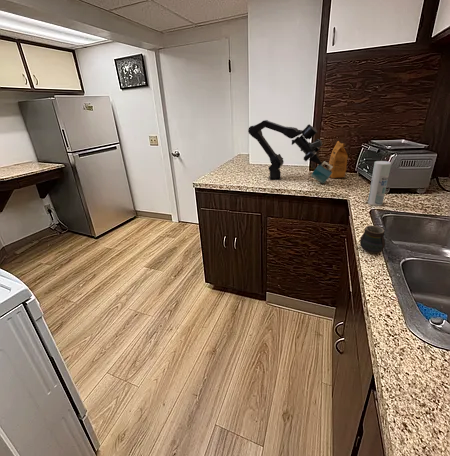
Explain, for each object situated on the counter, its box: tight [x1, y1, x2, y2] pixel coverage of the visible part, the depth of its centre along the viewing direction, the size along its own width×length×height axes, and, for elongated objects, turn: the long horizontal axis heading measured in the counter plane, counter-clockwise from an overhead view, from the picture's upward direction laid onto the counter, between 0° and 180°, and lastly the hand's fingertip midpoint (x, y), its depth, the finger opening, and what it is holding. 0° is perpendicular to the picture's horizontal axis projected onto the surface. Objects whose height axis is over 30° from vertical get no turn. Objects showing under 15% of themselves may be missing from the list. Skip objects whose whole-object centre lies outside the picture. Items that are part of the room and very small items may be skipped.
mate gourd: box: [359, 224, 386, 254], centre depth 82 cm, size 7×8×10 cm
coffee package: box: [327, 140, 349, 179], centre depth 158 cm, size 10×12×22 cm
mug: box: [310, 160, 333, 185], centre depth 148 cm, size 9×8×12 cm
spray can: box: [367, 160, 392, 207], centre depth 115 cm, size 6×6×20 cm
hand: (321, 164), depth 147 cm, fingers closed, pressing on mug
